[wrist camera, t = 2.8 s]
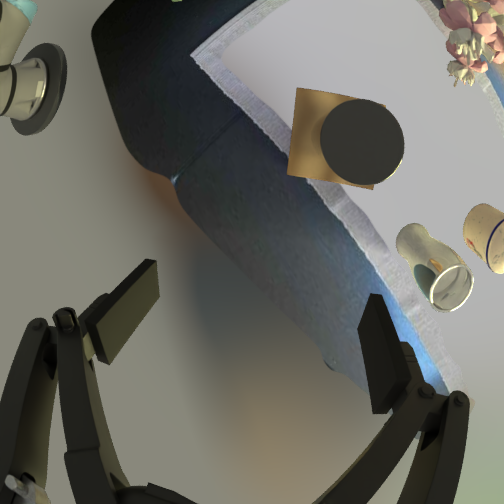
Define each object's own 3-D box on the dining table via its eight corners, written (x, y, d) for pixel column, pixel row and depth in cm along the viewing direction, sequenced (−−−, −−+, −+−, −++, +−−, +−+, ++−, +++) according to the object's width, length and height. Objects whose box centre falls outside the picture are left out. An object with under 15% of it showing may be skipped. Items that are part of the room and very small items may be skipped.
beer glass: (437, 240, 38) (482, 286, 25) (408, 268, 41) (442, 323, 28) (414, 211, 37) (461, 250, 24) (384, 241, 40) (417, 293, 27)
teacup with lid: (453, 242, 38) (487, 275, 27) (472, 193, 34) (513, 215, 23) (493, 260, 37) (525, 291, 27) (510, 217, 33) (548, 242, 23)
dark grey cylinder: (307, 159, 32) (314, 177, 19) (314, 107, 29) (325, 90, 16) (359, 168, 31) (396, 193, 18) (366, 118, 28) (409, 111, 16)
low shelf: (288, 168, 38) (286, 174, 33) (297, 94, 34) (296, 87, 28) (362, 181, 37) (373, 190, 32) (373, 108, 32) (386, 105, 27)
